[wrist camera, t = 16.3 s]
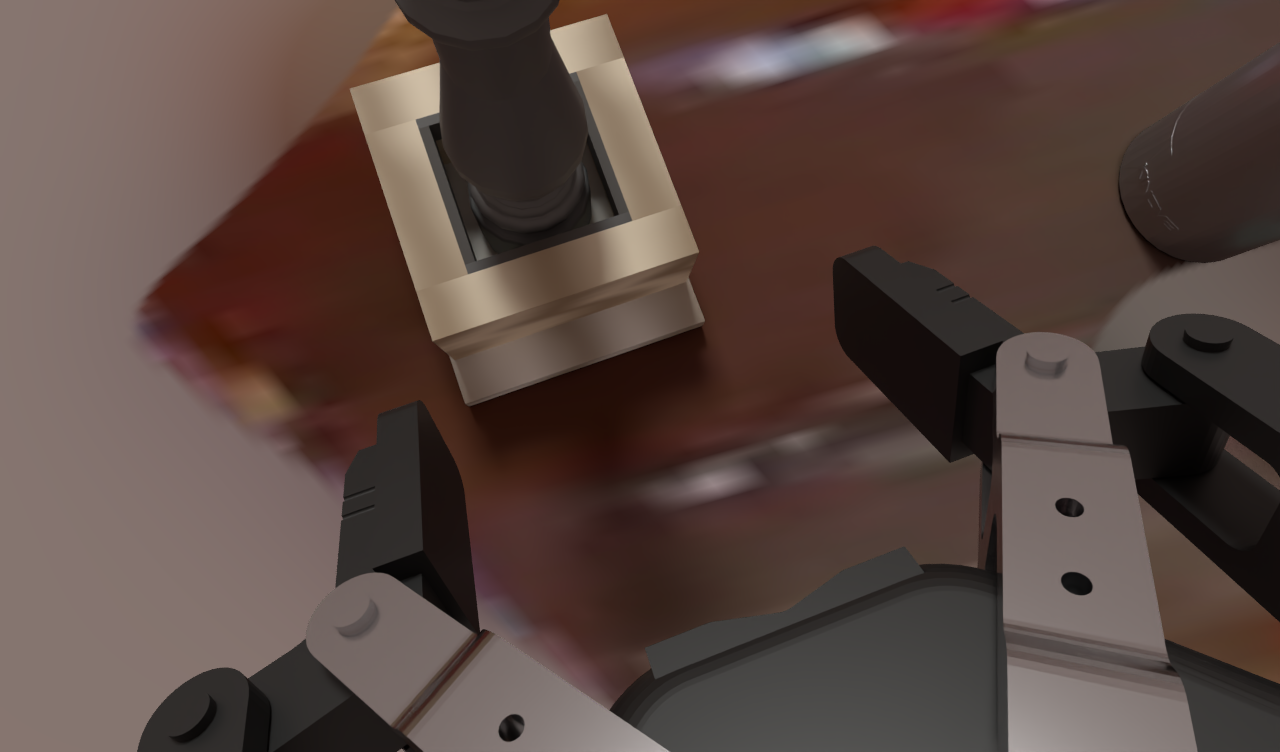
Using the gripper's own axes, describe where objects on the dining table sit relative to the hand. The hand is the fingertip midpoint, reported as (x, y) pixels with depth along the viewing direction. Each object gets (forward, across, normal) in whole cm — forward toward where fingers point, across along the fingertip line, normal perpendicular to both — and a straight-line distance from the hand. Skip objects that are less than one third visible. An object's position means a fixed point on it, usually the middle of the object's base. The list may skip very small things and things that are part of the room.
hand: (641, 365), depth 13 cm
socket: (+27, 0, +8) cm, 29 cm away
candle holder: (+26, 0, +8) cm, 28 cm away
